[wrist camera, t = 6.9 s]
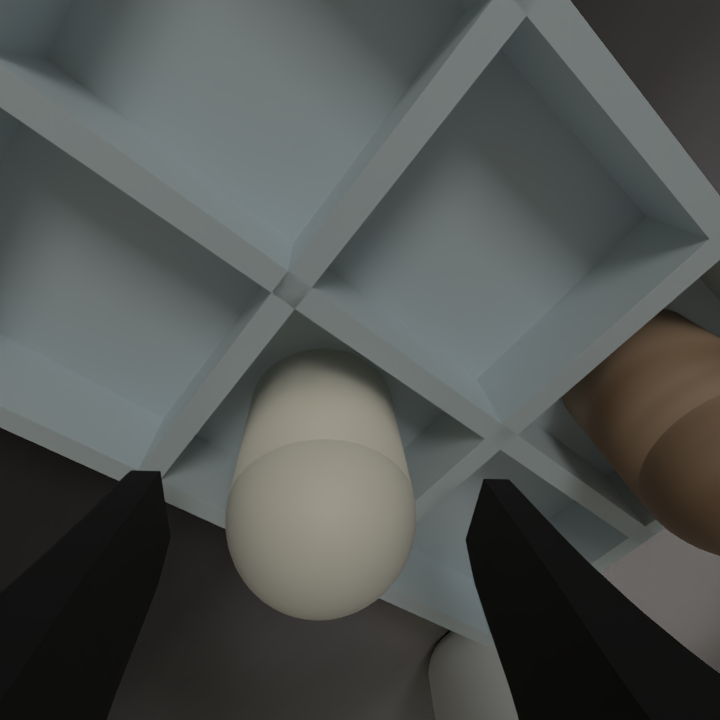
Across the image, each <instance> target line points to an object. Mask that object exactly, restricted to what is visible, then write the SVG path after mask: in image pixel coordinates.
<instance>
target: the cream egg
mask: <svg viewBox="0 0 720 720" xmlns="http://www.w3.org/2000/svg"><path fill="white" fill-rule="evenodd" d="M225 526H226V537H227V543H228V548H229V552H230V555H231V557H232V560H233V563H234V565H235V568H236V569H237V571H238V573H239V575H240V576H241V578H242V579H243V581H244V582H245V584H246V585H247V586H248V587H249V589H250V590H251V591H252V592H253V593H254V594H255V595H256V596H257V597H258V598H259V599H261V600H262V601H263V602H264V603H266V604H267V605H269V606H270V607H272V608H274V609H275V610H277V611H279V612H281V613H284V614H286V615H289V616H292V617H296V618H301V619H306V620H331V619H337V618H341V617H344V616H347V615H351V614H353V613H356V612H358V611H360V610H362V609H364V608H366V607H367V606H369V605H370V604H372V603H373V602H374V601H376V600H377V599H378V598H380V597H381V596H382V595H383V594H384V593H385V592H386V591H387V590H388V589H389V588H390V587H391V585H392V584H393V583H394V582H395V581H396V579H397V578H398V576H399V575H400V573H401V571H402V570H403V568H404V566H405V564H406V562H407V560H408V557H409V555H410V552H411V549H412V546H413V542H414V537H415V530H416V504H415V497H414V493H413V489H412V484H411V480H410V476H409V472H408V467H407V463H406V459H405V455H404V450H403V446H402V442H401V438H400V433H399V429H398V425H397V421H396V416H395V412H394V408H393V404H392V399H391V395H390V391H389V389H388V386H387V384H386V382H385V380H384V379H383V377H382V376H381V375H380V374H379V372H378V371H377V370H376V369H375V368H374V367H373V366H371V365H370V364H369V363H367V362H366V361H365V360H363V359H361V358H359V357H357V356H355V355H353V354H350V353H347V352H343V351H339V350H333V349H312V350H305V351H301V352H297V353H294V354H292V355H289V356H287V357H285V358H283V359H281V360H280V361H278V362H277V363H275V364H274V365H272V366H271V367H270V368H269V369H268V370H267V371H266V372H265V373H264V375H263V376H262V377H261V378H260V380H259V382H258V383H257V385H256V388H255V390H254V393H253V397H252V401H251V405H250V409H249V413H248V418H247V422H246V426H245V430H244V434H243V438H242V443H241V447H240V451H239V455H238V459H237V463H236V468H235V472H234V476H233V480H232V484H231V488H230V493H229V497H228V502H227V508H226V519H225Z"/></svg>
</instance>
